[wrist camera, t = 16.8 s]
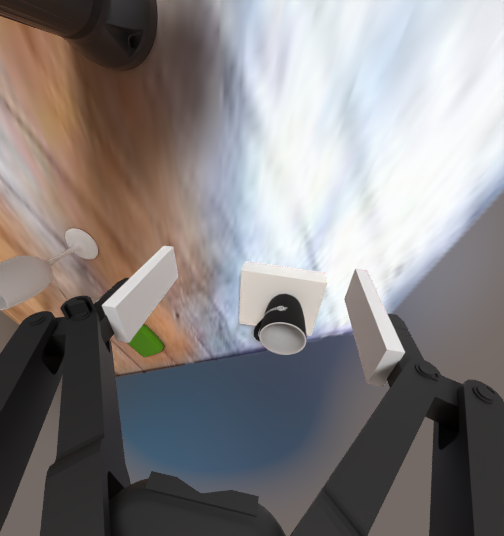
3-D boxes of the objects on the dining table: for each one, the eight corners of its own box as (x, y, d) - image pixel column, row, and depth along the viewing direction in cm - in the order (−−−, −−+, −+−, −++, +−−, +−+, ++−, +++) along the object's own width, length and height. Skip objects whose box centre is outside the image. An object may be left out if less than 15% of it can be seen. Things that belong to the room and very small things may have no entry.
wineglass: (59, 237, 58) (-43, 287, 41) (77, 221, 55) (-28, 268, 37) (87, 263, 61) (2, 319, 44) (105, 250, 58) (21, 305, 40)
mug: (291, 282, 48) (290, 315, 40) (312, 310, 51) (315, 347, 43) (247, 302, 54) (237, 336, 45) (268, 327, 57) (263, 363, 48)
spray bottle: (147, 351, 80) (93, 300, 70) (168, 344, 75) (114, 289, 66) (142, 358, 77) (85, 306, 68) (164, 352, 73) (107, 295, 64)
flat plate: (242, 312, 61) (238, 323, 58) (244, 260, 52) (241, 270, 49) (310, 323, 59) (311, 335, 56) (325, 272, 50) (327, 283, 47)
